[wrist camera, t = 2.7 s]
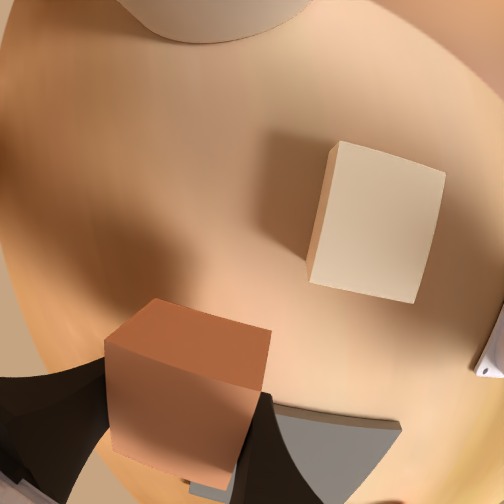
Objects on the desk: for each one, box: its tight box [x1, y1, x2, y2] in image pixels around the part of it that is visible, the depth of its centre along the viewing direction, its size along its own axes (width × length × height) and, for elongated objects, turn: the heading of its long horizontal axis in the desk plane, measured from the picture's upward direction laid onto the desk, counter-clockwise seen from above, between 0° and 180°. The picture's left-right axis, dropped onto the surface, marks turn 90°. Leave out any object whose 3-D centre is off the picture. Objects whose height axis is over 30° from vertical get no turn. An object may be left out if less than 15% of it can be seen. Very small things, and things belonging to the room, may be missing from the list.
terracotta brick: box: [104, 298, 272, 491], centre depth 11 cm, size 5×6×4 cm
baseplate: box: [189, 404, 402, 504], centre depth 19 cm, size 14×14×1 cm
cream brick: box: [306, 140, 446, 304], centre depth 14 cm, size 5×6×4 cm
